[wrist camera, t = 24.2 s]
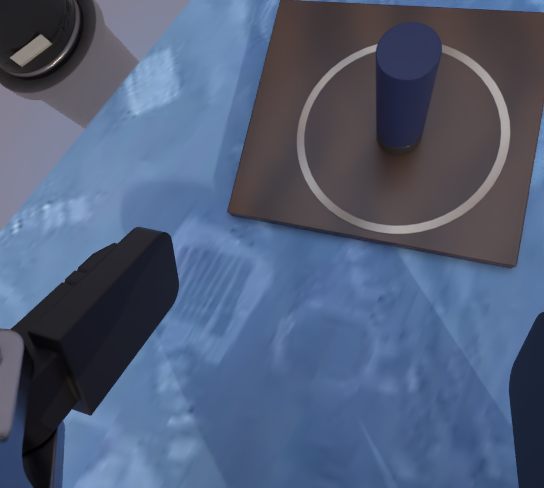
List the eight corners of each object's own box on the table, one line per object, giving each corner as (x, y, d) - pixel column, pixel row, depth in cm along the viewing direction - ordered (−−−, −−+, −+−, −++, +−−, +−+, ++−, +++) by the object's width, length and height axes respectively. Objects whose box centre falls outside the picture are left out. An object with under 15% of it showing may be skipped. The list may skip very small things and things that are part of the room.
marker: (372, 152, 28) (369, 76, 20) (381, 111, 29) (382, 19, 20) (417, 158, 27) (435, 83, 19) (426, 116, 28) (447, 23, 19)
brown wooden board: (231, 215, 31) (226, 211, 30) (283, 8, 33) (279, -3, 32) (511, 268, 26) (517, 266, 25) (553, 23, 28) (560, 11, 27)
